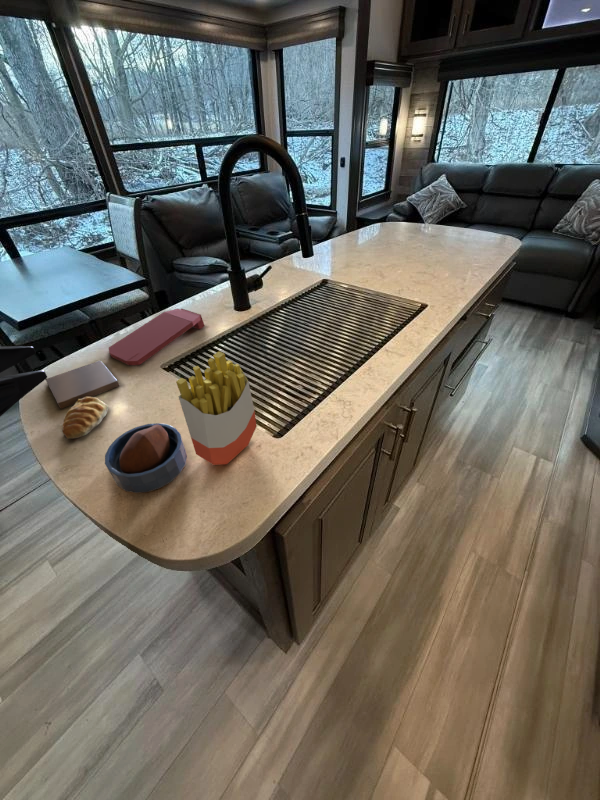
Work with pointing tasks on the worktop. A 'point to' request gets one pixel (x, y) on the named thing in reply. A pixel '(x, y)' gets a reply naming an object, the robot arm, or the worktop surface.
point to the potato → (145, 450)
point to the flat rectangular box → (81, 383)
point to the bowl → (152, 477)
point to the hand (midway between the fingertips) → (39, 361)
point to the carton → (154, 336)
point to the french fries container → (218, 410)
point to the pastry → (84, 417)
